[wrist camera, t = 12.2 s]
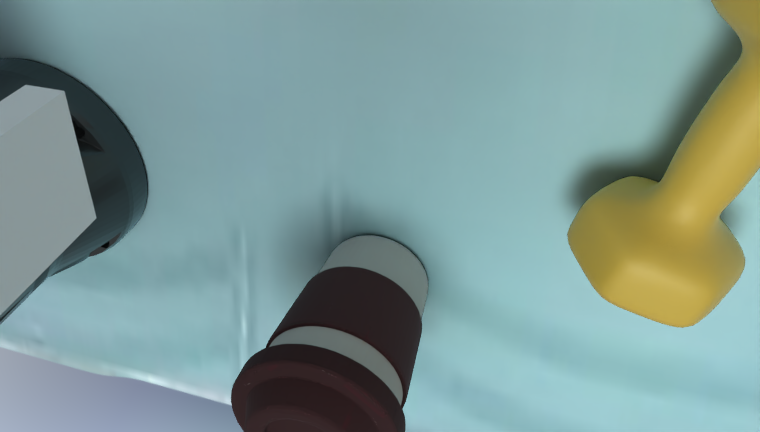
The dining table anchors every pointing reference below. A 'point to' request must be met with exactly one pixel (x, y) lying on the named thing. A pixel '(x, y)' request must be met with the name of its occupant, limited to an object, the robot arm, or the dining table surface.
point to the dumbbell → (681, 203)
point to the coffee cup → (340, 347)
